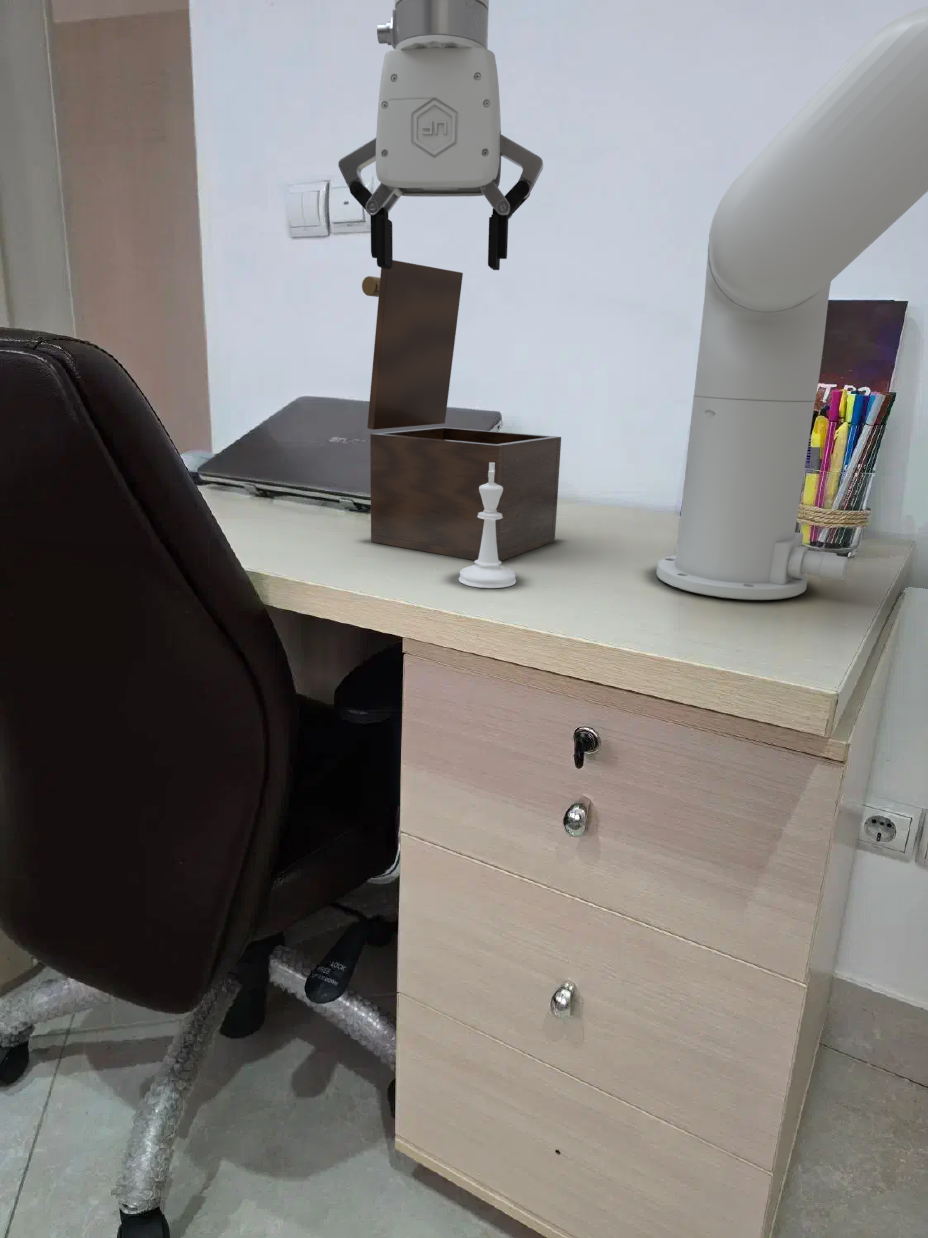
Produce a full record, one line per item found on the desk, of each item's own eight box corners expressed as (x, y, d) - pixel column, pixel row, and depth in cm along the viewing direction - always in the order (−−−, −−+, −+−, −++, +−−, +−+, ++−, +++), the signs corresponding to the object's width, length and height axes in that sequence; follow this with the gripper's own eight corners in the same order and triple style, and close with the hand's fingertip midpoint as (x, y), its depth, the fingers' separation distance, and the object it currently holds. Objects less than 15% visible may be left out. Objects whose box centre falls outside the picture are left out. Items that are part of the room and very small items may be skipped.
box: (555, 541, 87) (561, 436, 84) (494, 563, 77) (498, 445, 73) (440, 523, 94) (442, 426, 91) (370, 541, 84) (370, 433, 81)
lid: (463, 272, 85) (419, 267, 88) (388, 258, 75) (341, 253, 78) (445, 423, 91) (404, 414, 93) (373, 429, 81) (329, 419, 83)
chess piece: (517, 575, 73) (522, 460, 70) (515, 589, 68) (521, 467, 65) (461, 572, 73) (464, 458, 70) (455, 586, 69) (458, 465, 66)
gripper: (323, 24, 64) (329, 262, 69) (546, 17, 62) (535, 263, 67) (349, 57, 71) (353, 271, 77) (550, 52, 69) (540, 273, 74)
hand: (438, 267), depth 72 cm, fingers open, 9 cm apart
